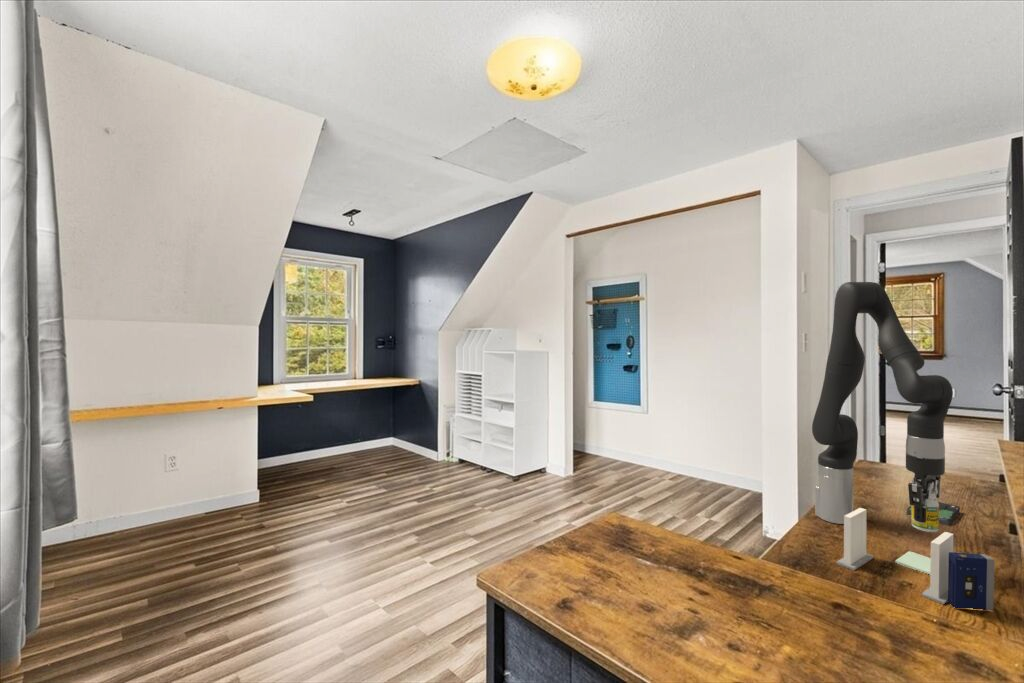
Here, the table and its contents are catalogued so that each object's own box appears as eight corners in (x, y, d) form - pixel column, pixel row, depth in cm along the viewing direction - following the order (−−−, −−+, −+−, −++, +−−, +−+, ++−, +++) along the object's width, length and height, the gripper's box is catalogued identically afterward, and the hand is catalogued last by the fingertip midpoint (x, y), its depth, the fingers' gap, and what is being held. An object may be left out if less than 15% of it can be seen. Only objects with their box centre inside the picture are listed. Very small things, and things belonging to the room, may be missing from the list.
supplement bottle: (921, 522, 123) (922, 486, 123) (944, 531, 118) (944, 493, 118) (905, 524, 122) (905, 488, 122) (928, 533, 117) (928, 496, 117)
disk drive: (918, 505, 159) (906, 517, 150) (918, 497, 159) (906, 508, 150) (959, 514, 151) (950, 527, 142) (960, 506, 151) (950, 518, 142)
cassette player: (954, 609, 103) (955, 555, 102) (947, 602, 105) (948, 550, 105) (994, 612, 101) (995, 558, 101) (986, 606, 104) (987, 553, 103)
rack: (836, 563, 123) (836, 515, 122) (856, 551, 128) (856, 505, 128) (944, 605, 104) (945, 548, 104) (961, 588, 110) (962, 534, 110)
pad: (895, 563, 122) (895, 560, 122) (909, 553, 127) (909, 551, 127) (940, 578, 115) (940, 576, 115) (953, 567, 119) (953, 565, 119)
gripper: (917, 445, 126) (917, 507, 127) (895, 455, 119) (895, 520, 120) (954, 451, 120) (953, 516, 121) (933, 462, 113) (932, 531, 113)
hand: (924, 518), depth 120 cm, fingers closed on supplement bottle, 5 cm apart
